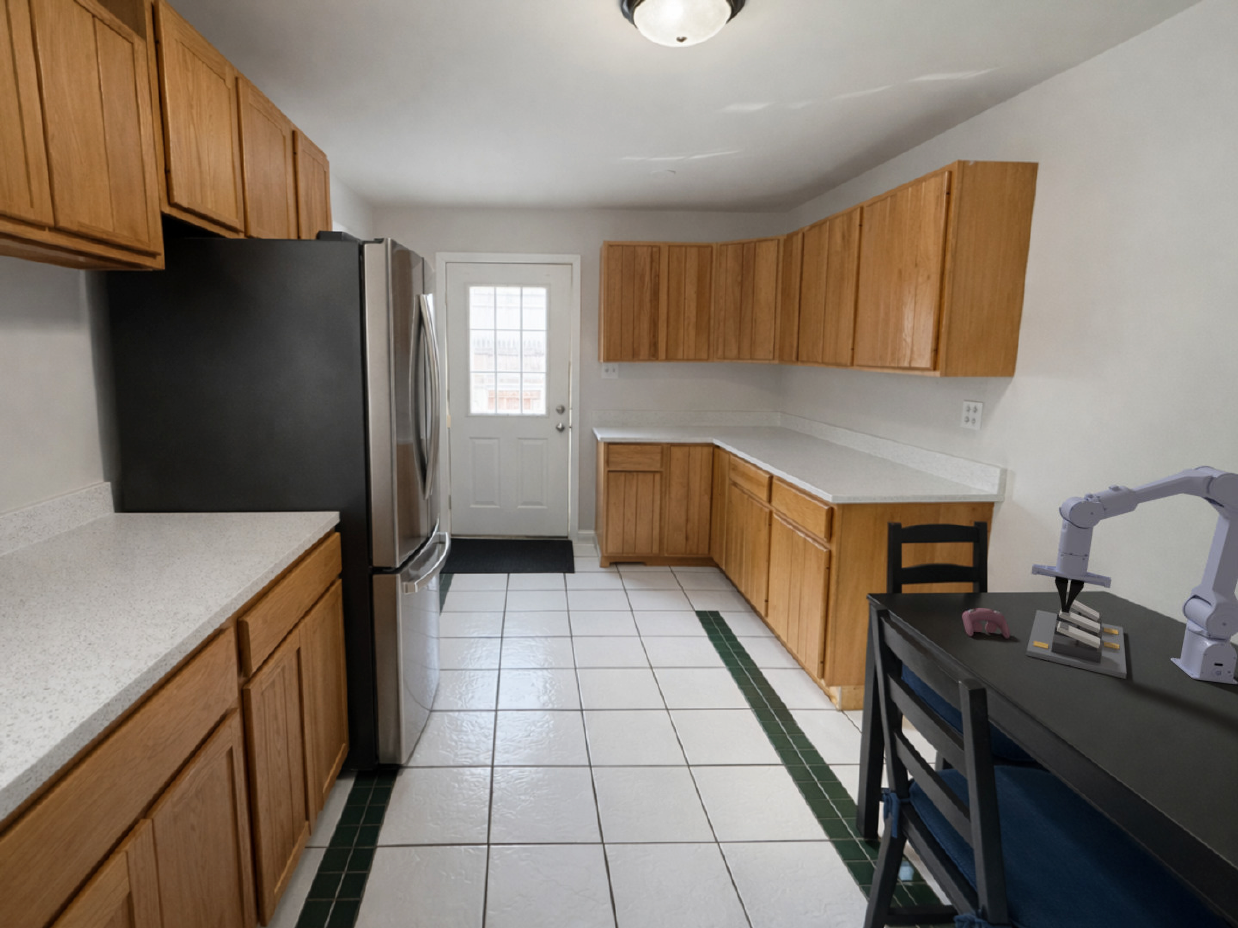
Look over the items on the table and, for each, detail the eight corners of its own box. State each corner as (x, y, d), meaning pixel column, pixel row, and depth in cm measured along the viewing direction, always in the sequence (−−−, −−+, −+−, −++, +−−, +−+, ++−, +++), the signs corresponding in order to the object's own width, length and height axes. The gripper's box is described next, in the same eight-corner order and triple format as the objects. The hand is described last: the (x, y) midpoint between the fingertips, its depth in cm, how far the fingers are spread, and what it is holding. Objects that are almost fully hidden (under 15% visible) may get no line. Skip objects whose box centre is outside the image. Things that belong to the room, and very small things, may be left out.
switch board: (1121, 632, 167) (1124, 613, 166) (1125, 678, 143) (1129, 657, 142) (1036, 614, 177) (1038, 597, 176) (1026, 655, 153) (1028, 635, 152)
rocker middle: (1098, 627, 159) (1100, 623, 158) (1098, 633, 155) (1100, 629, 155) (1059, 611, 163) (1061, 607, 162) (1059, 617, 159) (1061, 612, 159)
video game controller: (1003, 639, 165) (1000, 610, 167) (1012, 638, 160) (1009, 608, 162) (960, 637, 166) (958, 607, 168) (968, 636, 161) (966, 606, 163)
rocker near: (1098, 642, 151) (1100, 637, 150) (1098, 648, 147) (1100, 644, 147) (1057, 625, 155) (1059, 620, 154) (1056, 630, 151) (1059, 626, 151)
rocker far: (1096, 616, 167) (1099, 612, 167) (1096, 621, 164) (1099, 617, 163) (1062, 597, 171) (1065, 593, 170) (1061, 602, 167) (1064, 598, 167)
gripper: (1114, 554, 148) (1104, 613, 151) (1036, 542, 157) (1028, 598, 159) (1114, 562, 143) (1105, 623, 145) (1034, 549, 151) (1026, 607, 153)
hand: (1065, 611), depth 152 cm, fingers closed
